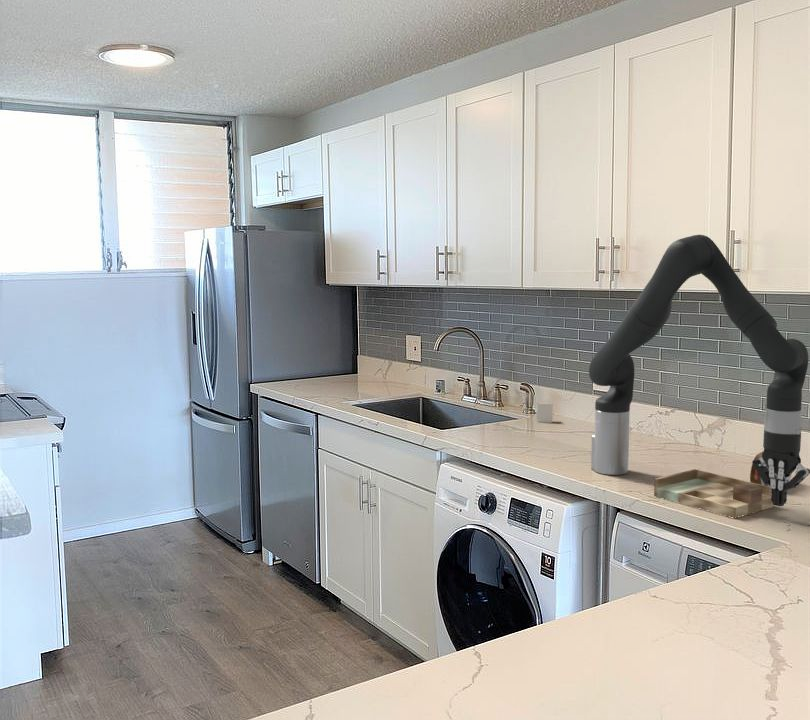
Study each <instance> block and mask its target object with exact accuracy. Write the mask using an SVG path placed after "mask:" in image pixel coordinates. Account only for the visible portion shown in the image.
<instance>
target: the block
mask: <svg viewBox="0 0 810 720" xmlns="http://www.w3.org/2000/svg"><path fill="white" fill-rule="evenodd" d="M733 500H737V501H741V502H745V503H749V504H752V503H755V502H759V501H762V488H760V487H756V486H752V485H748V484H742V485H738V486H735V487H733Z"/></svg>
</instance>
